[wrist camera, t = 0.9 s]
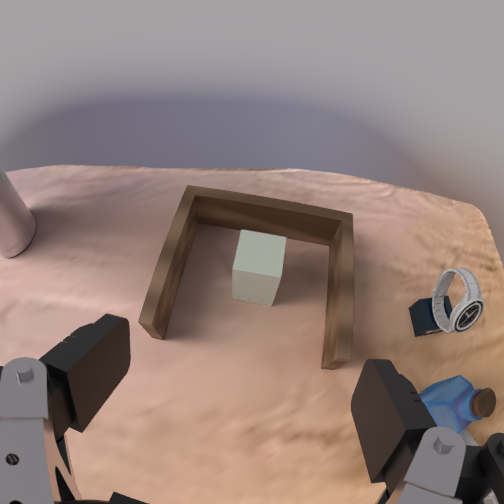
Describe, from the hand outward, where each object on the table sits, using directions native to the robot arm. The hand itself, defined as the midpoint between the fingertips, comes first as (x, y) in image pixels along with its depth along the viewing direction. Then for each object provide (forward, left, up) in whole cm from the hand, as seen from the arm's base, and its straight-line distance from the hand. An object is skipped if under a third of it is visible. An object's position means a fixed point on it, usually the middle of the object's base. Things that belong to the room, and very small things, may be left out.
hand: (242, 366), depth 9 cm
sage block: (-9, +12, -25) cm, 29 cm away
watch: (+12, +26, -26) cm, 38 cm away
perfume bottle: (+20, +15, -26) cm, 36 cm away
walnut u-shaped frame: (-9, +12, -25) cm, 29 cm away
